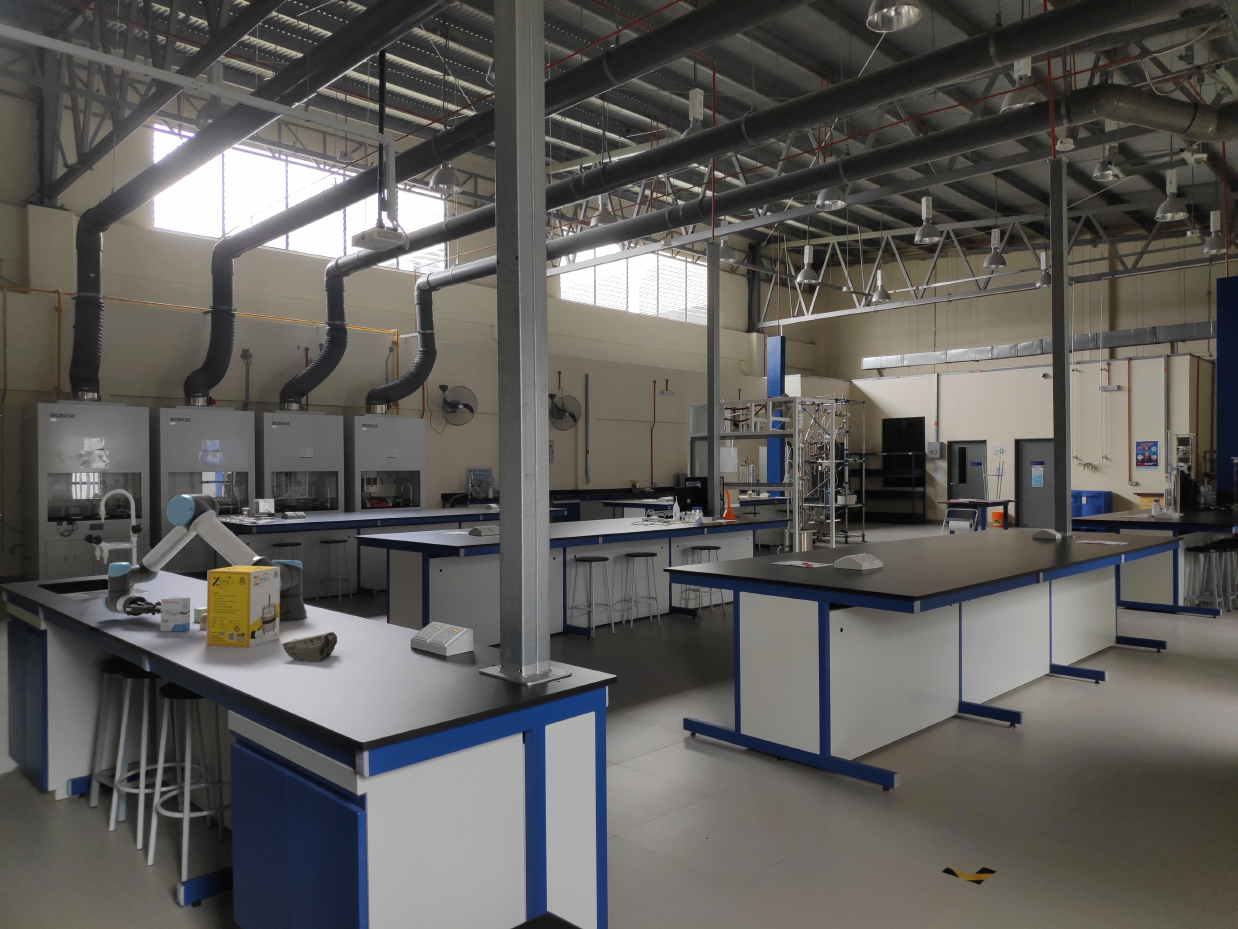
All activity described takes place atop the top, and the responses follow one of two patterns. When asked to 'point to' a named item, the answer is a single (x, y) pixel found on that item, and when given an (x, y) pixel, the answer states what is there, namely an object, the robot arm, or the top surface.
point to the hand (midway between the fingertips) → (167, 611)
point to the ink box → (175, 614)
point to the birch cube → (203, 621)
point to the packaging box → (243, 605)
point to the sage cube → (199, 613)
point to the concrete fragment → (311, 647)
